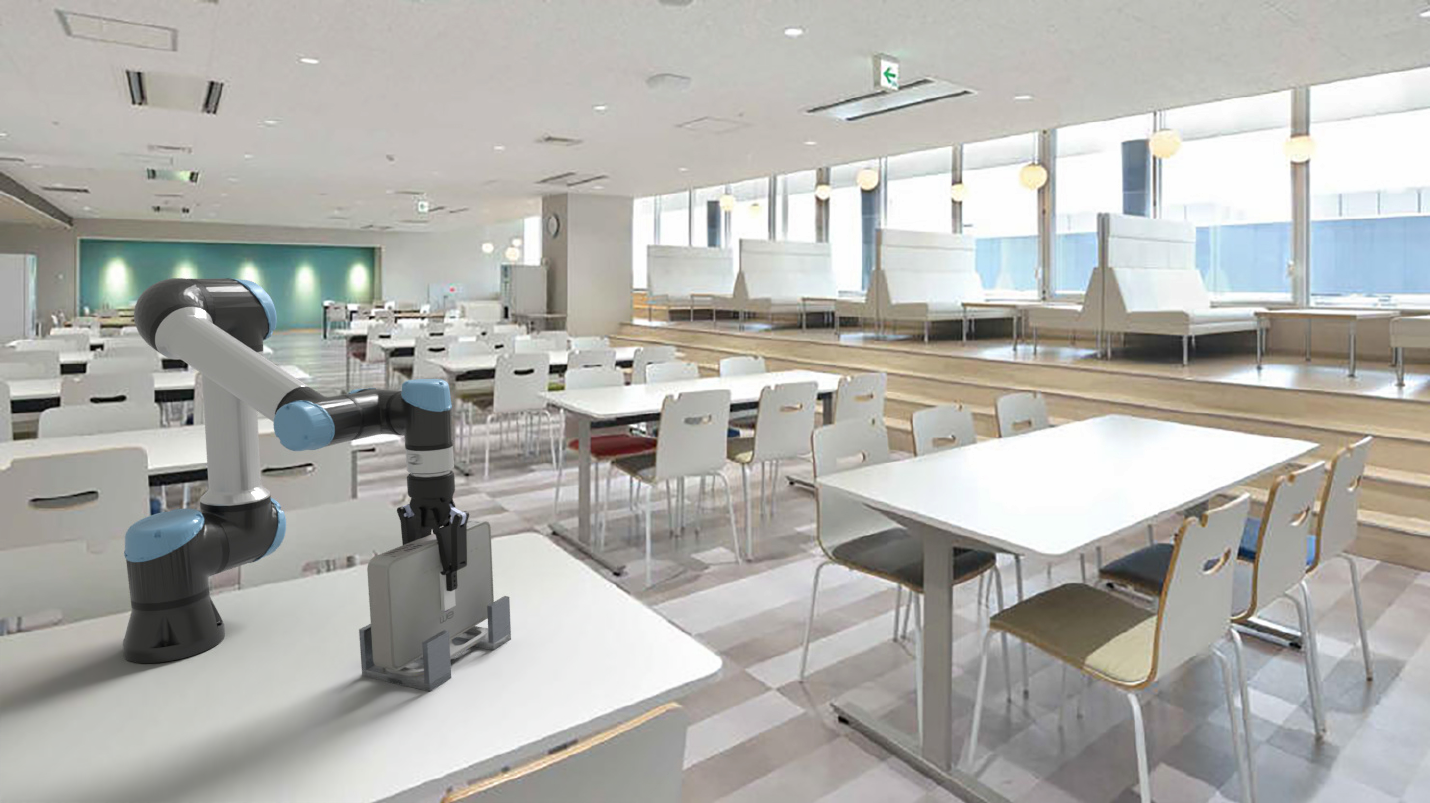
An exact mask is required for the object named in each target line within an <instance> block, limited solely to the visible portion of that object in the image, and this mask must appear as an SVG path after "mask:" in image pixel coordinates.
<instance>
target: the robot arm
mask: <svg viewBox="0 0 1430 803" xmlns="http://www.w3.org/2000/svg"><path fill="white" fill-rule="evenodd" d="M133 319H134V320H133V321H134V324H135V328H136V330H137V332H138V334H139V336H140V337H141V338H142V339H143V341H144V342H145V343H146V344H147V345H149V347H151V348H152V349H153V350H154V351H156V352H158V353H159V354H160V355H162V356H163V357H165V358H168V359H170V360H181V361H183V362H184V363H186V364H187V365H188V366H190V367H191V368H193V369H195V370H196V371H197V372H199V373H201V382H202V383H201V384H202V397H203V398H202V399H203V401H202V402H203V411H204V412H203V414H204V429H205V430H204V432H205V435H204V436H205V448H206V449H205V450H206V451H205V452H206V466H207V482H208V484H207V485H208V489H207V490H206V491H205V492H204V494H203V495H201V496H200V498H199V507H200V508H199V510H198V509H195V508H176V509H172V510H170V511H161V512H158V513H154V514H150V515H149V516H145V517H143V518H142V519H139V520H137V521H136V522H134V523H132V524H131V525H130V527H128V529H126V532H125V533H124V553H123V555H124V557H125V561H126V570H127V581H128V589H129V598H130V605H131V606H130V608H131V611H130V615H129V619H128V623H127V626H126V630H125V633H124V634H125V635H124V638H123V641H122V651H123V652H122V653H123V656H124V659H125V660H127V661H129V662H131V663H136V664H138V663H139V664H157V663H165V662H172V661H175V660H177V661H178V660H181V659H185V658H189V657H192V656H196V655H198V654H200V653H203V652H206V651H208V650H210V649H212V648H214V647H216V646H217V645H219V644H220V643H221V642H222V641H223V640H224V639H225V636H226V632H225V623H224V621H223V619H222V616H221V615H220V613H219V611H218V609H217V607H216V605H215V603H214V601H213V599H212V597H211V593H210V582H209V581H210V579H209V578H210V577H212V576H215V575H217V574H221V573H223V572H227V571H229V570H233V569H235V568H238V567H241V566H244V565H247V564H252V563H256V562H258V561H260V560H261V559H263V558H265V557H268V556H269V555H272V554H273V553H275V552H276V551H277V550H278V549H279V547H280V546H281V545H282V543H283V541H284V539H285V537H286V532H287V518H286V514H285V511H284V510H281V508H282V506H281V504H280V503H279V502H278V501H277V500H276V499H275V498H272V497H271V496H272V495H271V490H269V489H267V488H266V487H265V486H264V485H262V479H261V478H262V475H261V458H260V454H261V453H260V439H259V436H260V435H259V418H258V413H259V414H261V415H262V416H265V418H267V419H269V420H270V421H271V422H273V431H274V434H275V437H276V438H278V439H279V443H280V445H282V446H283V447H284V448H285V449H288V450H289V451H293V452H303V451H314V450H319V449H322V448H326V447H330V446H334V445H339V444H343V443H345V442H350V441H356V440H360V439H365V438H369V437H373V436H374V437H375V436H379V435H394V436H403V438H404V449H405V463H406V472H408V473H409V474H408V475H407V477H406V486H407V488H406V489H407V495H408V497H409V498H410V500H409V503H407V504H405V505H402V506H399V507H397V508H396V513H397V515H398V519H399V520H400V521H399V522H400V528H401V529H400V531H401V542H402V545H405V544H407V543H410V542H412V541H415V540H417V539H420V538H424V537H426V536H429V535H431V534H435V535H436V539H437V541H438V542H437V543H438V548H439V553H440V557H441V562H442V567H443V571H441V572H440V573H439V575H440V595H441V611H446V610H448V609H450V608H452V607H454V606H456V603H455V589H457V586H458V584H457V571H458V570H460V569H462V568H464V567H466V566H467V522H468V519H470V518H469V517H470V513H469V511H467V510H465V511H462V510H460V509H458V508H456V504H455V500H454V494H455V492H456V482H455V480H456V479H455V473H454V472H453V469H454V468H455V462H454V461H455V459H454V446H453V444H454V443H453V434H452V433H453V432H452V431H453V429H452V428H453V427H452V426H453V425H452V424H453V422H452V421H453V420H452V418H453V417H452V416H453V415H452V410H453V409H452V408H453V403H452V400H451V399H452V398H451V392H450V385H449V383H448V382H447V381H446V380H445V379H441V378H417V379H414V378H413V379H408V380H405V381H404V382H403V383H401V390H394V389H393V390H392V389H379V388H378V389H377V388H375V387H368V388H355V389H352V390H350V391H349V392H348V393H347V394H340V395H335V396H325V395H324V394H322V393H320V392H318V391H317V390H315V389H313V388H312V387H310V386H309V385H307V384H306V383H304V382H302V381H301V380H300V379H298V378H297V377H295V376H294V375H292V374H291V373H289V372H287V370H284V369H283V368H281V367H280V366H278V365H276V364H275V363H274V362H272V361H271V360H269V359H267V358H266V357H264V356H263V355H262V354H264V341H266V340H268V339H269V338H270V337H271V336H272V335H273V334H274V331H275V330H276V329H277V328H276V327H277V322H278V318H277V311H276V306H275V304H274V302H273V300H272V298H271V296H270V295H269V294H268V292H266V291H265V289H264V288H263V287H262V286H261V285H259V284H258V283H256V282H254V281H252V280H247V279H241V278H232V277H229V278H228V277H227V278H222V277H221V278H182V277H179V278H177V277H176V278H167V279H166V278H165V279H163V280H159V281H156V282H155V283H154V284H151V285H150V286H149V287H147V288H146V289H145V290H144V291H143V292H142V293H141V295H139V297H138V299H137V301H136V303H135V305H134V311H133Z"/></svg>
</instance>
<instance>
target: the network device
mask: <svg viewBox="0 0 1430 803" xmlns="http://www.w3.org/2000/svg"><path fill="white" fill-rule="evenodd" d="M491 530H492V529H491V524H490V522H489V521H485V520H478V519H470V518H468V522H467V566H466V567H464V568H462V569H460V570H458V571H457V584H458V586H457V589H455V603H456V606H454V607H452V608H450V609H448V610H446V611H441V595H440V575H439V573H440V572H441V571H443V567H442V562H441V557H440V553H439V548H438V543H437V542H438V541H437V539H436V535H435V534H433V533H431V535H429V536H426V537H424V538H420V539H417V540H415V541H412V542H410V543H407V544H405V545H403V544H402V545H401V546H397V547H395V548H393V549H391V550H388V551H387V550H386V551H385V552H383V553H380V554H377V555H375V556H373V557H372V558H371V559H370V560H369V562H368V565H367V568H366V569H367V585H368V600H369V601H368V602H369V616H370V624H371V635H372V650H373V663H374V665H375V666H377V667H381V668H385V669H386V670H387V671H389V672H392V673H397V674H401V675H406V676H418V675H423V674H424V668H423V669H410V668H406V666H407V665H409V664H411V663H412V662H415V661H416V660H418V659H420V658H422V657H423V647H422V642H424V641H425V640H427V639H429V638H431V637H433V636H434V635H436V634H438V633H440V632H441V631H443V630H447V631H449V641H450V660H452V659H453V658H455V657H457V656H459V655H460V654H461V653H463V652H465V651H466V650H468V649H470V648H471V647H474V646H473V645H475V644H476V643H478V642H480V641H481V640H483V639H484V638H485V637H486V636H487V631H486V630H485V629H484V628H485V627H483V628H481V627H482V626H478V627H476V626H477V625H479V624H481V623H482V622H484V621H486V620H488V614H487V606H488V605H489V604H491V603H493V602H495V600H494V577H493V576H494V574H493V555H492V554H493V552H492V550H493V549H492V531H491ZM465 631H468V632H473V633H478V634H480V635H478V636H476V637H475V638H473V639H471V640H470V641H468V642H466V643H465V644H463V645H458V646H455V645H454V644H453V643H452V639H453V638H455V637H457V636H459V635H460V634H462V633H464V632H465Z"/></svg>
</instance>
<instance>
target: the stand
mask: <svg viewBox="0 0 1430 803" xmlns="http://www.w3.org/2000/svg"><path fill="white" fill-rule="evenodd" d="M487 614H488V619H487V627H482V626H480V627H481V628H484V629H485V630H486V631H487V636H486V637H485V638H484V639H483V640H481V641H480V642H478V643H476V644H475V645H473V646H472V647H475V648H480V649H485V650H486V649H487V650H491V651H496V649H498V648H500V647H502V646H503V645H504V644H505V643H507V642H509V641H510V640H512V633H511V632H512V630H511V629H512V628H511V602H510V596H507V595H504V596H502V597H500V598H499V599H497V600H494V602H493V603H491V604H489V605H488V606H487ZM476 627H479V626H477V625H476ZM478 635H480V634H478V633H473V632H468V631H465V632H464V633H462V634H460V635H459V636H457V637H455V638H453V639H452V643H453V644H454V645H455V646H458V645H463V644H465V643H466V642H468V641H470V640H471V639H473V638H475V637H476V636H478ZM358 636H359V637H358V638H359V647H360V649H359V650H360V664H361V677H365V678H370V679H374V680H378V681H382V682H387V683H390V684H391V683H392V684H396V685H400V686H403V687H404V686H405V687H409V688H413V689H417V690H421V691H427V692H431V691H433V690H434V689H437V688H438V687H439V686H441V685H442V684H444V683H446V681H448V680H450V679H452V666H451V665H452V664H451V663H452V662H451V659H450V641H449V631H447V630H443V631H441V632H440V633H438V634H436V635H434V636H433V637H431V638H429V639H427V640H425V641H424V642H422V647H423V657H421V658H419V659H418V660H416V661H414V662H412V663H411V664H409V665H407V666H406V668H410V669H423V668H424V674H423V675H418V676H406V675H401V674H397V673H392V672H389V671H387V670H386V669H385V668H381V667H377V666H375V665H374V663H373V650H372V635H371V623H369V624H367V625H366V626H363V627H361V628H359V629H358Z"/></svg>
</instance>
